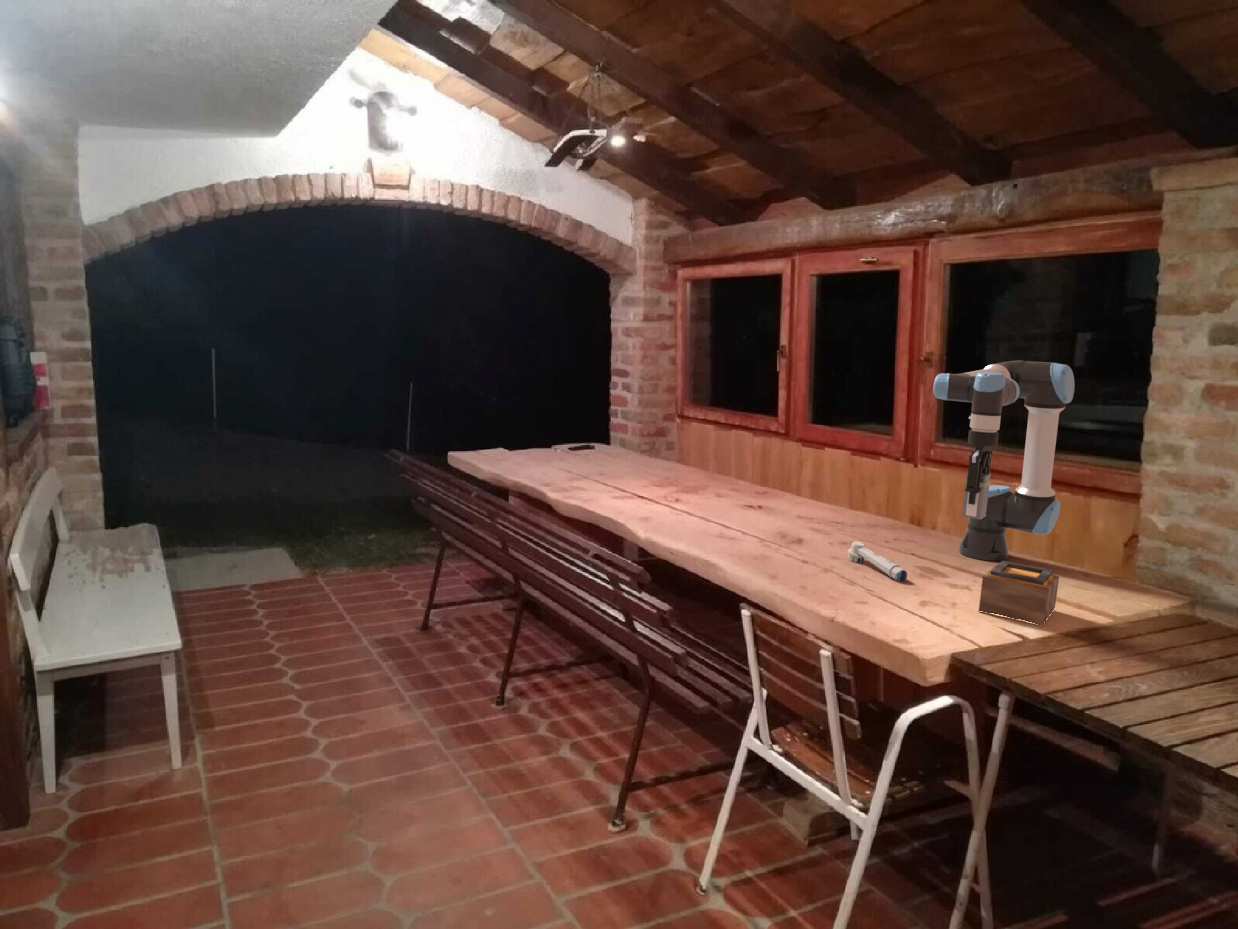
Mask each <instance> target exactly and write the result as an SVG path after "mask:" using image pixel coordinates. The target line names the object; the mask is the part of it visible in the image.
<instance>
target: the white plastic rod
mask: <svg viewBox="0 0 1238 929" xmlns="http://www.w3.org/2000/svg"><path fill="white" fill-rule="evenodd" d="M847 553H848V555H847V559H848V560H849V561H850V562H855V563H857V564H859V563H864V562H865V560H866V561H868V562H869V563H870V564H872V565H873V566H875V567H876V568H877V569H879V570H881V571H882V572H883V573H884V574H886V575H887V576H888V577H889V579H893V580H894V579H895V580H894V581H896V582H905V581H906V580H907V579H908V572H907V571H906V570H905V569H904V568H902V567H901V566H900V565H899V564H896V563H893V562H892V561H890V560H888V559H887V558H885V557H883V556H881V555H880V554H878V553H876V552H874V551H872V550H871V549H869V548H867V547H866V546H865V544H864V542H861V541H859V540H855V541H853V542H852V543H851V547H849V549H847Z"/></svg>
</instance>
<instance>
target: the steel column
mask: <svg viewBox="0 0 1238 929" xmlns="http://www.w3.org/2000/svg"><path fill="white" fill-rule="evenodd" d="M967 478H968V472H967V473H966V476H965V480H964V485H965V486H964V491H963V493H964V494H963V502H962V510H961V511H962V512H961V517H963V518H974V519H982V518H984V517H986V509H987V501H988V493H989V485H991V473H982V474H981V478H980V484H979V490H978V493H979V499H978V508H977V516H976V517H975V516H969V515H966V507H967V498H968V492H967V491H965V489H966V486H967Z"/></svg>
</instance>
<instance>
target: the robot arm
mask: <svg viewBox="0 0 1238 929" xmlns="http://www.w3.org/2000/svg"><path fill="white" fill-rule="evenodd" d="M1073 372H1074V371H1073V370H1072V368H1071V366H1069V365H1068V364H1064V363H1063V364H1062V363H1057V362H1049V361H1047V362H1046V361H1045V362H1044V361H1030V360H1026V361H1025V360H1010V361H1002V362H997V363H992V364H989V365H987V366H985V367H984V368H983V369H979V370H973V371H969V372H968V371H967V372H961V373H949V372H947V373H943V372H941V373H939V374H937V375H936V376H935V378H934V382H933V386H932V388H933V389H932V393H933V395H934V398H936V399H939V400H943V401H953V402H954V401H955V402H962V403H971V411H970V415H969V417H968V419H969V420H970V421H969V427H970V430H968V437H967V443H969V444H971V445H973V446H974V448H973V450H972V451H971V454H969V456H968V471H967V473H968V478H967V486H966V489H965V488H964V491H967V492H968V498H967V507H966V515H969V516H975V517H976V516H977V508H978V499H979V493H978V490H979V484H980V478H981V474H982V473H989V474H991V472H990V471H991V463H992V456H993V452H994V451H993V450H991V448H990V447H995V446H997V445H998V443H999V435H1000V434H999V432H998V431H999V430H1000V426H1001V417H1002V408H1003V407H1006V406H1009V405H1011V404H1013V403H1015V402H1016V401H1017V400H1018V399H1024V402H1023V404H1024V407H1025V408H1026V409H1027V410H1028V416H1027V426H1026V427H1027V428H1026V436H1025V445H1024V453H1023V454H1024V455H1023V465H1022V471H1021V472H1022V474H1021V483H1020V485H1018V486H1017V487H1015V491H1014V492H1012V489H1011V487H1010V486H1008V485H1001V484H992V485H991V484H990V485H989V493H988V501H987V509H986V517H984V518H982V519H974V518H969V517H967V518H968V519H967V528H966V531H965V533H964V535H963V538H962V539H961V541H960V543H959V546H958V547H959V548H958V552H959V553H960V554H961V555H963V556H966V557H968V558H973V559H975V560H981V561H982V560H983V561H991V562H992V561H993V562H995V561H996V562H997V561H998V562H999V561H1000V562H1001V561H1006V560H1007V559H1008V558H1009V548H1008V543H1007V539H1006V538H1007V537H1006V529H1012V530H1015V531H1022V532H1027V533H1031V534H1033V535H1035V534H1037V535H1045V536H1046V535H1048V534H1050V533H1051V532H1052V531H1053V530H1054V528H1055V526H1056V524H1057V523H1058V522H1057V521H1058V519H1059V516H1060V513H1061V506H1062V503H1061V501H1060V500H1059V499H1056V492H1055V490H1054V489H1053V488H1052V479H1053V469H1054V464H1055V463H1054V460H1055V453H1056V444H1057V436H1058V429H1059V428H1058V427H1059V419H1060V413H1061V412H1062V411H1064V409H1066V404H1069V403H1071V402H1072V401H1073V398H1074V394H1075V387H1076V386H1075V376H1074V373H1073Z"/></svg>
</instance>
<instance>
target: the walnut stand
mask: <svg viewBox="0 0 1238 929" xmlns="http://www.w3.org/2000/svg"><path fill="white" fill-rule="evenodd" d="M1053 572H1054V570H1053V569H1049V568H1044V567H1038V566H1033V565H1028V564H1023V563H1017V562H1012V561H1007V560H1000V562H999V563H996V564H995V565H994V566H993V567H992V568H990V569H989V571H987V572H986V573H985V574H983V575H982V580H981V590H980V596H979V605H978V612H979V611H983V612H987V613H994V614H999V615H1003V616H1007V617H1010V618H1014V619H1021V620H1025V621H1028V622H1032V623H1035V624H1038V625H1037V626H1039V625H1042V626H1041V627H1043V626H1044V625H1045V624H1044V622H1045V621H1046V619H1047V618H1048V617H1049V615H1050V614H1051V613H1052V611H1053V610H1054V608H1056V602H1057V595H1058V588H1059V587H1058V586H1059V580H1060V575H1059V574H1055V573H1053ZM1052 614H1053V613H1052ZM1052 614H1051V615H1052ZM1049 618H1050V617H1049ZM1049 618H1048V619H1049ZM1046 622H1047V621H1046ZM1046 622H1045V623H1046ZM1043 624H1044V625H1043Z"/></svg>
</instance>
